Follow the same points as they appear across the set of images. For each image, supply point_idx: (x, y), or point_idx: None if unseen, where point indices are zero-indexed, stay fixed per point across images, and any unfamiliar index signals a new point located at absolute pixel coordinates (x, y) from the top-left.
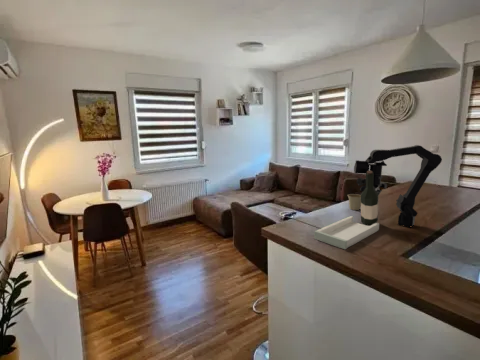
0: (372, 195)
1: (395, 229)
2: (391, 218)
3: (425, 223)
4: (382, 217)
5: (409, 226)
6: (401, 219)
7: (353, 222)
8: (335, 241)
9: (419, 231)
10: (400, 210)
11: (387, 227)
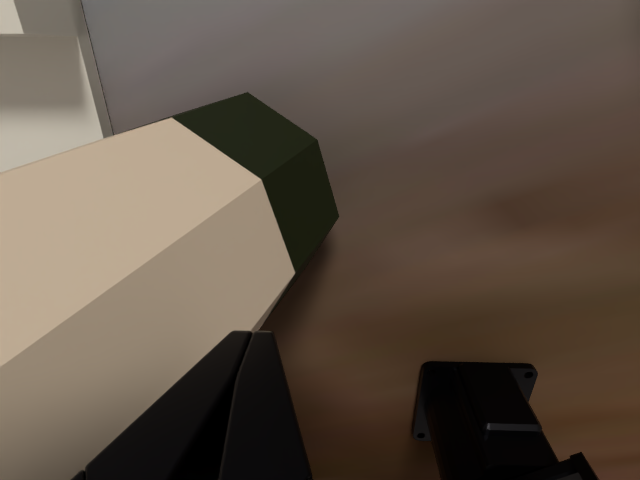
0: None
1: (292, 377)
2: (614, 270)
3: (611, 462)
4: (600, 194)
5: (420, 430)
6: (453, 419)
7: (64, 60)
8: None
9: (380, 469)
10: (575, 465)
11: (289, 329)
